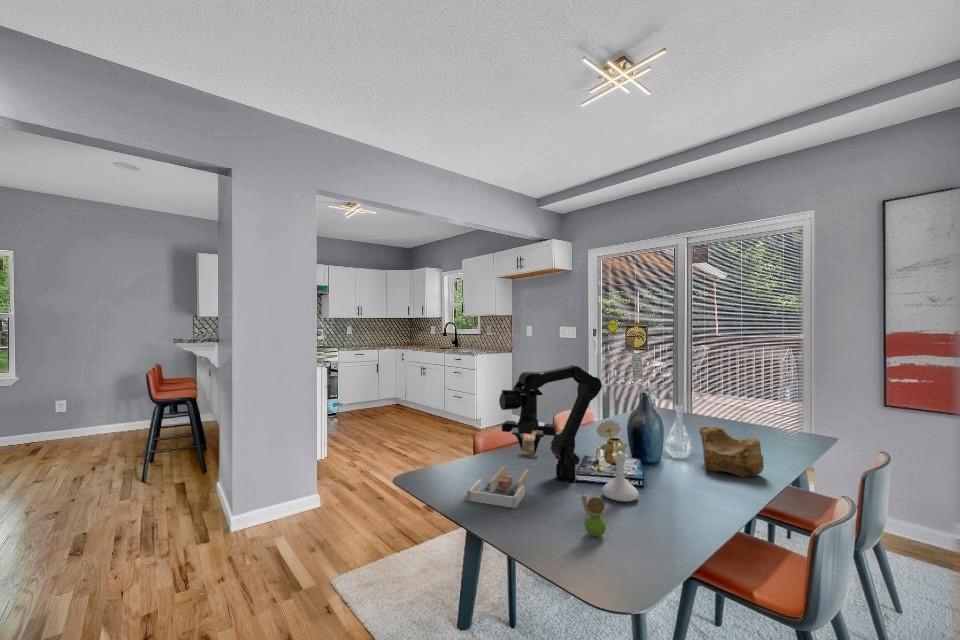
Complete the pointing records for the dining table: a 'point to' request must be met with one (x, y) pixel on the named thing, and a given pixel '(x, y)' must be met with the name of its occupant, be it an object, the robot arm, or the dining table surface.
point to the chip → (503, 484)
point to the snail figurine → (594, 516)
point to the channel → (501, 473)
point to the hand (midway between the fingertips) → (529, 452)
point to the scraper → (528, 449)
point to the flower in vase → (619, 485)
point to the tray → (494, 496)
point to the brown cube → (508, 478)
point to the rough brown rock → (730, 453)
